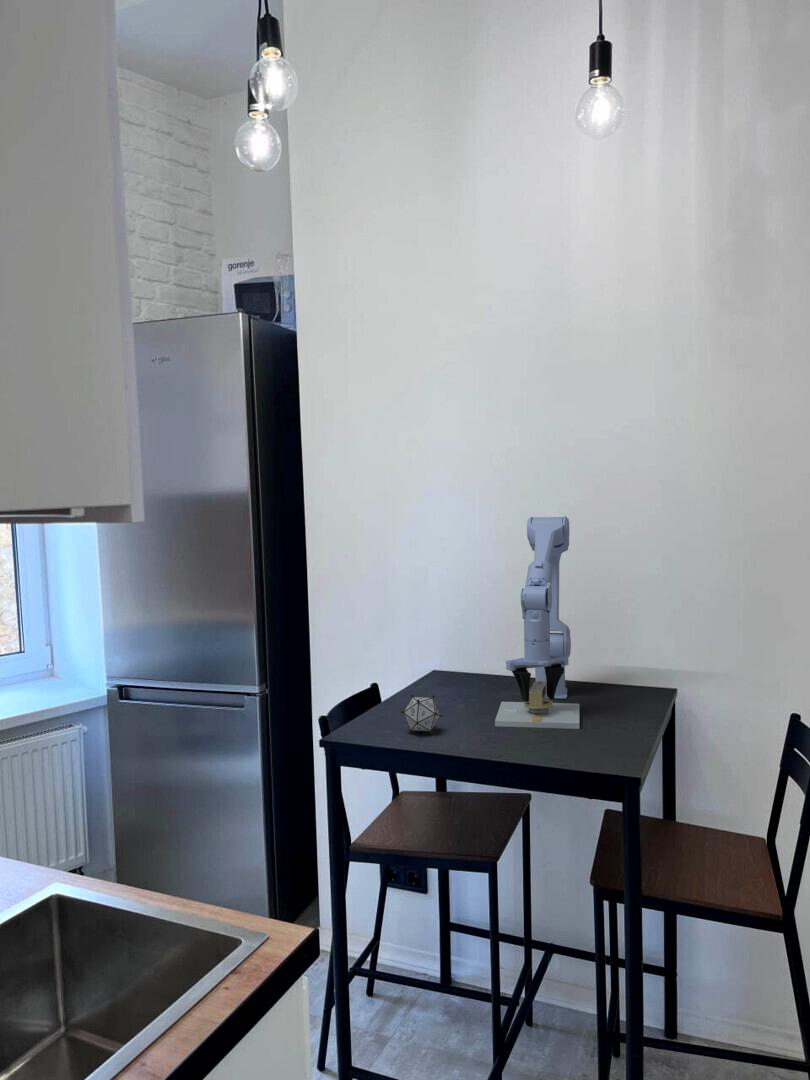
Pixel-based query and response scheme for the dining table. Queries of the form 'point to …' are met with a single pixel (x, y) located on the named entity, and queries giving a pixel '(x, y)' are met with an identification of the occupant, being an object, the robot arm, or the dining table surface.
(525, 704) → the door handle
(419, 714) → the game die
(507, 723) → the lock plate
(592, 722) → the dining table surface
